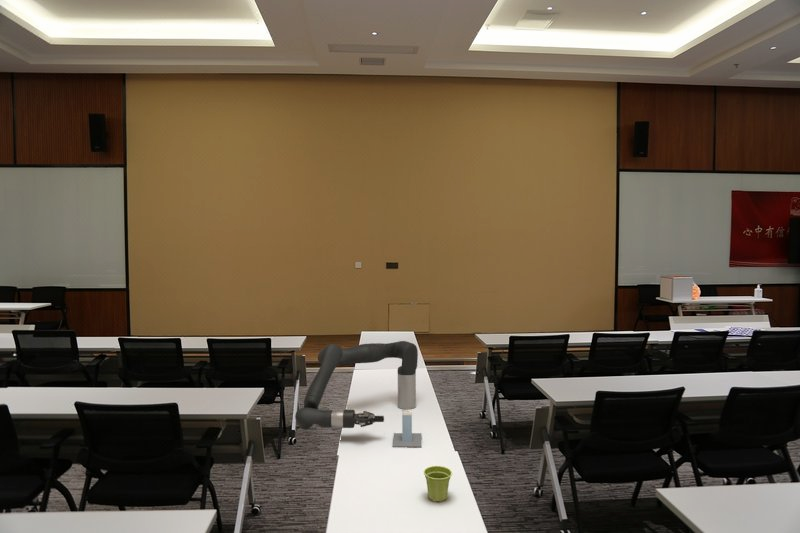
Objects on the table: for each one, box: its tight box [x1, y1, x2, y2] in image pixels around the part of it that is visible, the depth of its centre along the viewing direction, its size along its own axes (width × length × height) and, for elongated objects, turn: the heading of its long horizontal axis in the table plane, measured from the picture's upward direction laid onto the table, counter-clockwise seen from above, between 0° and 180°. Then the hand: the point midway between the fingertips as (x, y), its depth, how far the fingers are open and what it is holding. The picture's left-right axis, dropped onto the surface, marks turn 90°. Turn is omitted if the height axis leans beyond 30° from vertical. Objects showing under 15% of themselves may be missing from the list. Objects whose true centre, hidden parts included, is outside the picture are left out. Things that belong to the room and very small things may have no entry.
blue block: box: [401, 409, 413, 441], centre depth 217 cm, size 4×4×12 cm
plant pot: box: [423, 465, 453, 502], centre depth 170 cm, size 9×9×9 cm
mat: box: [392, 432, 423, 449], centre depth 218 cm, size 14×12×1 cm
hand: (383, 418), depth 217 cm, fingers closed
